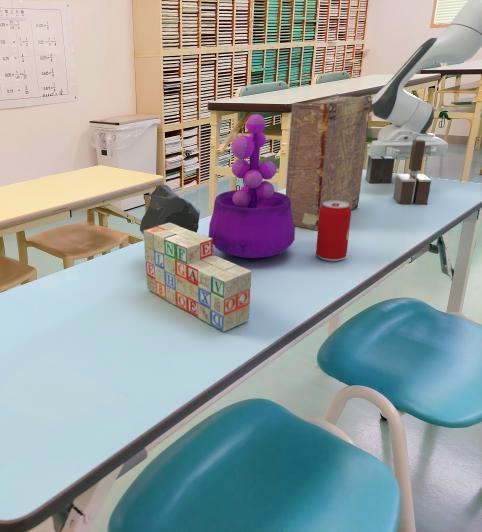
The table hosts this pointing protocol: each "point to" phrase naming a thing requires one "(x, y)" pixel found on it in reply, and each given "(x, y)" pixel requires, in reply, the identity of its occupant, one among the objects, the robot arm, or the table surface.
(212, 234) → the decorative plant
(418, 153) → the knife
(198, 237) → the stack of blocks
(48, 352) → the table surface
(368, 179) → the knife holder
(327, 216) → the beverage can
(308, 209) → the book
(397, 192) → the brown wooden cube
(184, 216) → the dark grey faceted rock
